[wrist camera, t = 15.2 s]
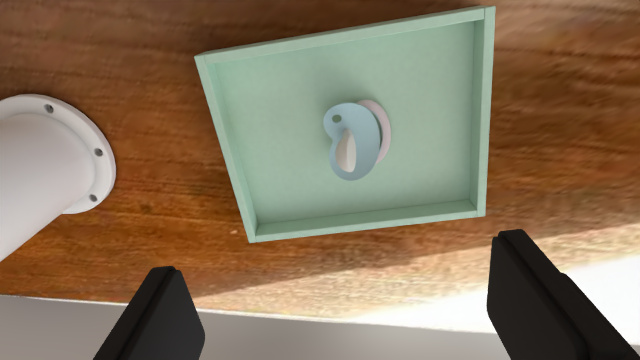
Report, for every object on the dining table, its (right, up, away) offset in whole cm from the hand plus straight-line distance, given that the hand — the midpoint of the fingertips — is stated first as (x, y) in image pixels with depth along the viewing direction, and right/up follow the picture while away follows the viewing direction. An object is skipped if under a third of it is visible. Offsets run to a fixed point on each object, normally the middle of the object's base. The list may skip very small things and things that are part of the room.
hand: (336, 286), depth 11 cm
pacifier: (+3, +8, +23) cm, 25 cm away
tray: (+2, +8, +24) cm, 25 cm away
